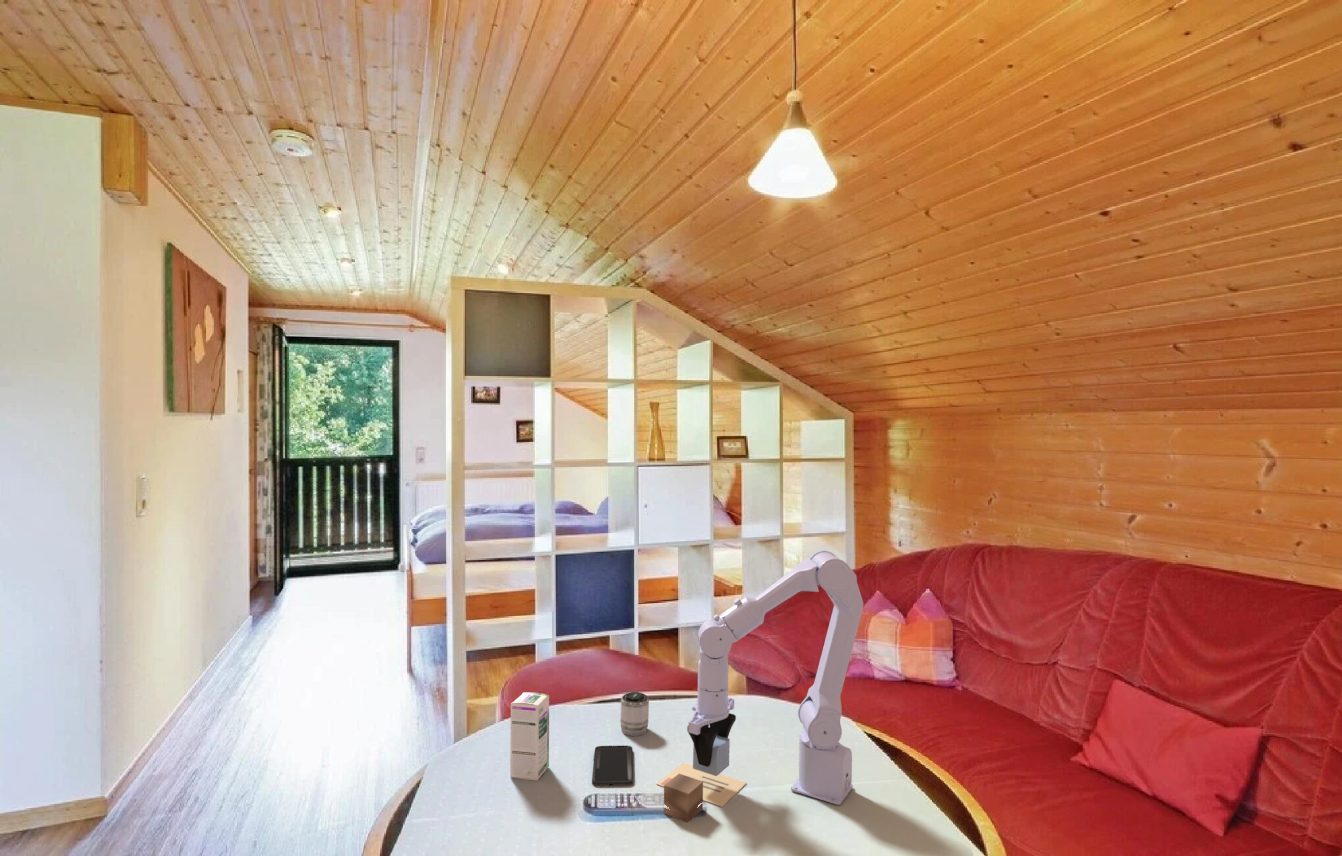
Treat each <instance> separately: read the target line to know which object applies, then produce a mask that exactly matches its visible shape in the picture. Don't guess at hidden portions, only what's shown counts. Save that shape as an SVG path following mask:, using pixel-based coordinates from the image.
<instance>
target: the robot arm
mask: <svg viewBox="0 0 1342 856" xmlns="http://www.w3.org/2000/svg"><path fill="white" fill-rule="evenodd" d="M857 579H858V578H857V574H856V573H855V572H854V570H853V569H852V568H851V567H850V566H849V564H848V563H847V562H846V561H845V560H843V559H840V558H839V557H837V556H836V555H835V554H834V553H833V552H831V551H828V550H820V551H817V552H815V553H813V554H812V555H811V556H810V557H807V558H805V559H803V560H801V561H800V563H798V564H797V565H795V567H793V568H792V569H790V570H789V571H788V572H787V573H786V574H784V575H783V576H782V577H781V578H779V579H778V580H777V581H775V582H774V583H772V585H770V586H769V587H768V588H767V589H765V590H764V591H762V592H761V593H760V594H759V595H757V596H756V597H749V596H744V597H743V598H742V599H741V598H740V597H737V598H736V599H734V600H733V603H734V604H733V605H732V606H730V607H729V608H728V609H726V610H725V611H723V612H722V613H720V614H719V613H716V614H715V615H714V616H713V619H709V620H706V621H705V622H703V623H702V624H701V625H700V627H699V629H698V632H697V633H696V634H697V636H696V637H697V640H698V642H699V646H700V647H699V651H698V658H699V659H698V665H697V667H698V668H697V703H695V704H693V705H692V706H691V710H692V711H693V712H694V713H693V715H692V717H691V719H690V720H689V721H688V725H687V727H686V728H687V733H688V735H689V736H690V738H691V741H692V743H693V747H694V746H695V750H696V754H697V759H698V763H699V764H700V765H703V766H706V767H708V766H710V763H711V758H712V749H713V744H714V741H715V738H716V736H717V735H718V736H721V737H725V738H728V739H729V736H730V732H731V731H732V730H731V729H732V728H733V725H734V724H735V722H736V719H737V715H736V714H734V713H730V712H731V711H733V710H734V709H735V698H732V697H729V666H730V665H729V660H728V659H729V657H728V655H729V652H730V651H731V649H732V645H733V644H734V643H737V642H738V641H740V640H741V639H742V638H743V637H745V636H747V635H748V634H749V633H751V632H752V631H753V630H754V631H755V629H757V628H759V626H761V625H763V624H764V621H765V615H766V614H767V613H768V612H769V611H771V610H773V609H774V608H776V607H777V606H779V605H780V604H782V603H784V602H785V601H786V600H788V599H791V598H792V597H793V596H795V595H796V594H798V593H799V592H815V593H817V592H818V593H819V592H820V590H819V587H818V586H820V587H821V588H822V589H823V590H824V591H825V593H826V594H827V596H828V597H829V599H830V601H831V602H832V604H833V608H832V612H831V615H830V616H831V617H830V619H829V625H828V628H827V631H826V635H825V640H824V645H823V649H822V652H821V655H820V659H819V663H818V667H817V669H816V674H815V677H814V678H815V679H814V681H813V682H814V683H813V684H812V685H811V686H810V687H809V688H808V691H807V694H806V696H805V698H804V699H803V701H801V703H800V704H799V706H798V711H797V714H798V720H799V722H800V723H801V724H802V726H803V728H802V730H801V733H800V734H799V740H798V741H799V746H798V747H799V748H798V750H799V754H798V756H799V757H798V760H799V761H798V779H797V780H796V781H795V782H794V783H793V784H792V786H791V787H790V790H791V791H792V792H794V793H799V794H802V795H805V796H808V797H810V798H811V797H812V798H815V799H818V800H820V801H824V802H828V803H831V804H834V805H836V806H840V805H841V804H842V803H843V802H844V800H845V799H846V797H847V796H848V795H849V793H850V792H851V790H852V789H853V786H854V785H853V784H852V782H853V781H852V780H853V779H852V777H853V774H852V773H853V753H852V749H851V748H849V747H847V746H845V745H843V744H841V742H840V740H841V739H842V738H841V737H842V734H843V733H842V732H843V731H842V730H843V729H842V724H841V718H842V713H843V712H842V710H843V709H842V701H841V700H842V699H841V696H842V691H843V687H844V683H845V679H846V676H847V672H848V667H849V664H850V659H851V656H852V653H853V652H852V651H853V649H854V644H855V640H856V637H857V632H858V628H859V626H860V621H861V618H862V613H863V610H864V599H863V597H862V594H861V591H860V587H859V584H858V580H857Z"/></svg>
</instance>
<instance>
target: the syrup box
mask: <svg viewBox="0 0 1342 856" xmlns="http://www.w3.org/2000/svg"><path fill="white" fill-rule="evenodd" d="M549 757H550V695H549V694H547V693H540V692H525V691H524V692H522V694H521V695H519V696H518V697H517V698H515V699H514V701H512V702H511V703H510V758H509V760H510V763H509V765H510V773H509V775H510V778H514V779H519V780H527V781H535V782H536V781H539V779H540V778H541V777H542V775H543V774H544V773H545V772H546V770H547V769H548V768H549V766H550V765H549V763H550V758H549Z"/></svg>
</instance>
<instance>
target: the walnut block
mask: <svg viewBox="0 0 1342 856" xmlns="http://www.w3.org/2000/svg"><path fill="white" fill-rule="evenodd" d="M702 802H703V803H704V801H703V781H700V780H697V779H694V778H691V777H688V776H685V775H682V774H678V775H677V776H675V777H674V778H673V779H671V780H670V781H669V782H668V783H666V784H665V785H664V787H663V805H664V804H665V805H666V806H667V807H669V809H670V810H669V809H666V808H664V807H663V814H664V815H666V816H669V817H672V818H675V819H677V820H681V821H683V822H685V823H689V822H691V820H692V819H694V818H695V817H696V816H697V815H698V814H699V813H700V812H701V811H703V804H701V805H700V806H699V807H698V805H699V804H700V803H702ZM697 807H698V808H697Z"/></svg>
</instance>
